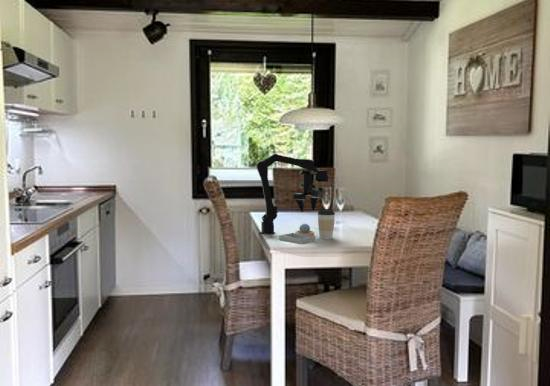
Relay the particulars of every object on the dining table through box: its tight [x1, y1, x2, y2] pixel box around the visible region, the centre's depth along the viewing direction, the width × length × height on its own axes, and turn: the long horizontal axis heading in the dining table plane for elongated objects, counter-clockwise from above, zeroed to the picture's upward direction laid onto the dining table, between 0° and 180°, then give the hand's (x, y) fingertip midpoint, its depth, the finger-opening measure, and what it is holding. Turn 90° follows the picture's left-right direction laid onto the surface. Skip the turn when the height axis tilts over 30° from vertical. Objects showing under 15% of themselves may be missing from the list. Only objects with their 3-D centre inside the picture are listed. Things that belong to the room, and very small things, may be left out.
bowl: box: [294, 229, 315, 236], centre depth 282 cm, size 10×10×2 cm
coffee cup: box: [317, 208, 336, 240], centre depth 276 cm, size 9×9×15 cm
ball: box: [299, 223, 311, 233], centre depth 282 cm, size 6×6×6 cm
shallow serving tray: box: [278, 232, 316, 245], centre depth 269 cm, size 15×10×2 cm
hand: (307, 211), depth 289 cm, fingers open, 9 cm apart
